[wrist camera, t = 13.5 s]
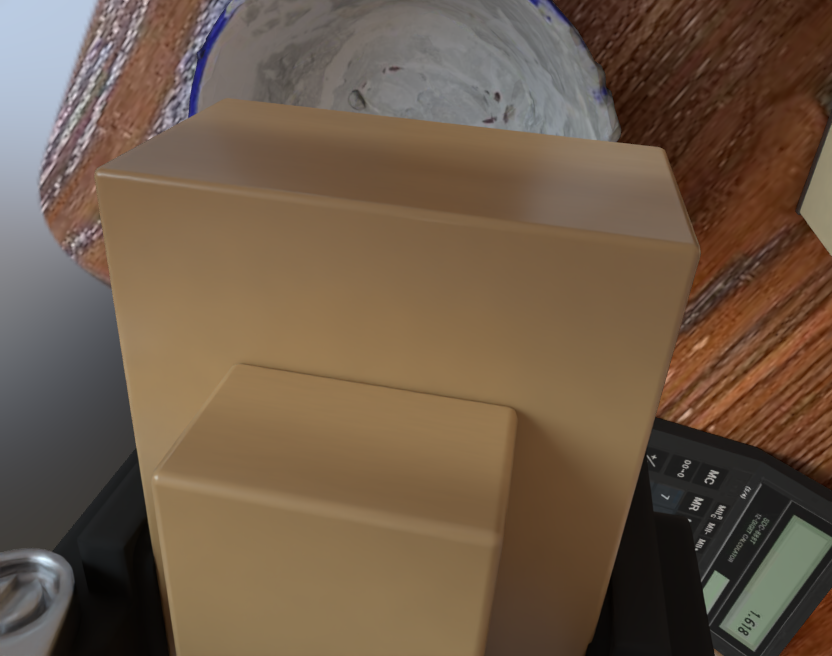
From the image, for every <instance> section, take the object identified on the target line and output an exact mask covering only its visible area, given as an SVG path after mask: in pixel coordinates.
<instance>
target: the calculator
mask: <svg viewBox="0 0 832 656" xmlns="http://www.w3.org/2000/svg"><path fill="white" fill-rule="evenodd" d="M646 455H647V463H648V471H649V479H650V487H651V495H652V503H653V511H655V512H661V513H667V514H672V515H678V516H684V517H686V518H687V519H688V520H689V522H690V525H691V529H692V534H693V539H694V545H695V550H696V556H697V561H698V567H699V572H700V578H701V583H702V588H703V594H704V599H705V605H706V610H707V616H708V621H709V627H710V632H711V638H712V643H713V648H714V649H716V650H717V651H718V652H720V653H721V654H722V655H724V656H779V654H780V653H781V652H782V651H783V649H784V648H785V647H786V646H787V644H788V643H789V642H790V640H791V639H792V638H793V637H794V635H795V634H796V633H797V631H798V630H799V629H800V628H801V626H802V625H803V624H804V623H805V621H806V620H807V619H808V617H809V616H810V615H811V614H812V612H813V611H814V610H815V608H816V607H817V606H818V605H819V603H820V602H821V601H822V600H823V598H824V597H825V596H826V594H827V593H828V592H829V591H830V589H831V588H832V490H830V489H828V488H827V487H825V486H823V485H821V484H820V483H818V482H816V481H814V480H813V479H811V478H809V477H807V476H806V475H804V474H802V473H800V472H799V471H797V470H795V469H793V468H792V467H790V466H788V465H786V464H785V463H783V462H781V461H779V460H778V459H776V458H774V457H772V456H771V455H769V454H767V453H765V452H764V451H762V450H760V449H758V448H756V447H753V446H749V445H746V444H743V443H739V442H736V441H733V440H729V439H726V438H723V437H719V436H716V435H713V434H709V433H706V432H703V431H699V430H696V429H693V428H689V427H686V426H682V425H679V424H676V423H672V422H669V421H666V420H662V419H659V418H656V417H655V420H654V423H653V427H652V431H651V434H650V438H649V441H648V445H647V448H646Z"/></svg>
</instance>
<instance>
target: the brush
mask: <svg viewBox="0 0 832 656" xmlns="http://www.w3.org/2000/svg"><path fill="white" fill-rule="evenodd" d="M94 178H95V185H96V191H97V198H98V204H99V210H100V217H101V223H102V230H103V236H104V242H105V249H106V255H107V262H108V268H109V274H110V281H111V287H112V294H113V300H114V306H115V313H116V319H117V325H118V332H119V338H120V345H121V350H122V357H123V364H124V370H125V376H126V382H127V389H128V395H129V402H130V409H131V415H132V421H133V428H134V434H135V440H136V447H137V453H138V460H139V466H140V473H141V479H142V485H143V492H144V498H145V504H146V511H147V517H148V524H149V530H150V536H151V543H152V549H153V555H154V561H155V567H156V574H157V580H158V586H159V593H160V599H161V606H162V612H163V618H164V625H165V631H166V638H167V644H168V651H169V656H585V654H586V650H587V646H588V644H589V643H591V642H592V639H593V637H594V634H595V631H596V627H597V624H598V620H599V616H600V613H601V609H602V606H603V602H604V599H605V595H606V591H607V588H608V584H609V581H610V577H611V574H612V570H613V566H614V563H615V559H616V556H617V552H618V549H619V545H620V541H621V538H622V534H623V531H624V527H625V524H626V520H627V516H628V513H629V509H630V506H631V502H632V499H633V495H634V491H635V488H636V484H637V481H638V477H639V473H640V470H641V466H642V463H643V459H644V456H645V452H646V448H647V445H648V441H649V438H650V434H651V431H652V427H653V423H654V420H655V416H656V413H657V409H658V406H659V402H660V398H661V395H662V391H663V388H664V384H665V381H666V377H667V373H668V370H669V366H670V363H671V359H672V356H673V352H674V348H675V345H676V341H677V338H678V334H679V331H680V327H681V323H682V320H683V316H684V313H685V309H686V306H687V302H688V298H689V295H690V291H691V288H692V284H693V280H694V277H695V273H696V270H697V266H698V263H699V259H700V255H701V251H700V246H699V243H698V240H697V238H696V235H695V232H694V229H693V226H692V224H691V221H690V218H689V215H688V213H687V210H686V207H685V204H684V201H683V199H682V196H681V193H680V190H679V188H678V185H677V182H676V179H675V176H674V174H673V171H672V168H671V165H670V163H669V160H668V157H667V154H666V151H665V150H664V149H662V148H660V147H652V146H644V145H635V144H626V143H617V142H609V141H600V140H591V139H582V138H574V137H565V136H556V135H547V134H538V133H530V132H521V131H512V130H503V129H495V128H486V127H477V126H468V125H460V124H451V123H442V122H433V121H425V120H416V119H407V118H398V117H389V116H381V115H372V114H363V113H354V112H346V111H337V110H328V109H319V108H311V107H302V106H293V105H284V104H276V103H267V102H258V101H249V100H240V99H232V98H225V99H222V100H221V101H219V102H217V103H215V104H213V105H211V106H210V107H208V108H206V109H204V110H202V111H200V112H199V113H197V114H195V115H193V116H191V117H190V118H188V119H186V120H184V121H182V122H180V123H179V124H177V125H175V126H173V127H171V128H169V129H168V130H166V131H164V132H162V133H160V134H159V135H157V136H155V137H153V138H151V139H149V140H148V141H146V142H144V143H142V144H140V145H138V146H137V147H135V148H133V149H131V150H129V151H128V152H126V153H124V154H122V155H120V156H118V157H117V158H115V159H113V160H111V161H109V162H107V163H106V164H104V165H102V166H100V167H98V168H97V169H96V171H95V175H94Z"/></svg>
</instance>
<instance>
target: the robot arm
mask: <svg viewBox="0 0 832 656" xmlns="http://www.w3.org/2000/svg"><path fill="white" fill-rule="evenodd" d="M0 656H169V651H168V644H167V638H166V631H165V625H164V618H163V612H162V606H161V599H160V593H159V586H158V580H157V574H156V567H155V561H154V555H153V549H152V543H151V536H150V530H149V524H148V517H147V511H146V504H145V498H144V492H143V485H142V479H141V473H140V466H139V460H138V453H137V447H136V449H135V450H134V451H133V452H132V454H131V455H130V456H129V457H128V459H127V460H126V461H125V462H124V463H123V465H122V466H121V467H120V468H119V470H118V471H117V472H116V473H115V475H114V476H113V477H112V478H111V480H110V481H109V482H108V483H107V485H106V486H105V487H104V488H103V490H102V491H101V492H100V493H99V494H98V496H97V497H96V498H95V499H94V500H93V502H92V503H91V504H90V505H89V507H88V508H87V509H86V510H85V512H84V513H83V514H82V515H81V517H80V518H79V519H78V520H77V522H76V523H75V524H74V525H73V526H72V528H71V529H70V530H69V532H68V533H67V534H66V535H65V536H64V538H63V539H62V540H61V541H60V543H59V544H58V545H57V546H56V547H55V549H54V550H53V551H49V550H44V549H36V548H26V549H15V550H9V551H6V552H3V553H0ZM585 656H715V654H714V649H713V643H712V638H711V632H710V627H709V621H708V616H707V610H706V605H705V599H704V594H703V588H702V583H701V578H700V572H699V567H698V561H697V556H696V550H695V545H694V539H693V534H692V529H691V525H690V522H689V520H688V519H687V518H686V517H684V516H678V515H672V514H667V513H661V512H655V511H653V503H652V495H651V487H650V479H649V471H648V463H647V455H646V452H645V456H644V459H643V463H642V466H641V470H640V473H639V477H638V481H637V484H636V488H635V491H634V495H633V499H632V502H631V506H630V509H629V513H628V516H627V520H626V524H625V527H624V531H623V534H622V538H621V541H620V545H619V549H618V552H617V556H616V559H615V563H614V566H613V570H612V574H611V577H610V581H609V584H608V588H607V591H606V595H605V599H604V602H603V606H602V609H601V613H600V616H599V620H598V624H597V627H596V631H595V634H594V637H593V639H592V642H591V643H589V644H588V646H587V650H586V654H585Z"/></svg>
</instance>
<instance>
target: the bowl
mask: <svg viewBox="0 0 832 656" xmlns="http://www.w3.org/2000/svg"><path fill="white" fill-rule="evenodd" d="M197 59H198V60H197V66H196V71H195V75H194V80H193V84H192V88H191V95H190V103H189V115H188V118H190V117H191V116H193V115H195V114H197V113H199V112H200V111H202V110H204V109H206V108H208V107H210V106H211V105H213V104H215V103H217V102H219V101H221V100H222V99H225V98H232V99H240V100H249V101H258V102H267V103H276V104H284V105H293V106H302V107H311V108H319V109H328V110H337V111H346V112H354V113H363V114H372V115H381V116H389V117H398V118H407V119H416V120H425V121H433V122H442V123H451V124H460V125H468V126H477V127H486V128H495V129H503V130H512V131H521V132H530V133H538V134H547V135H556V136H565V137H574V138H582V139H591V140H600V141H609V142H617V141H618V139H619V138H620V136H621V127H620V124H619V121H618V118H617V115H616V112H615V107H614V102H613V97H612V93H611V91H610V90H609V89H608V88H607V87H606V77H605V72H604V70H603V68H602V66H601V65H600V64H599V63H597V62H595V61H594V59H593V57H592V55H591V52H590V51H589V49H588V48H587V46H586V44H585V43H584V41H583V39H582V37H581V36H580V34H579V32H578V30H577V29H576V28H575V27H574V26H573V24H572V23H571V22H570V21H569V20H568V19H567V17H566V16H565V15H564V14H563V13H562V12H561V11H560V9H559V8H558V7H557V6H556V5H555V4H554V2H553V1H552V0H230V2H229V4H228V5H227V6H226V8H225V9H224V11H223V12H222V14H221V15H220V17H219V18H218V20H217V21H216V23H215V24H214V26H213V28H212V29H211V31H210V33H209V35H208V36H207V38H206V42H205V43H204V45H203V47H202V48H201V49H200V50H199V51H198V52H197Z"/></svg>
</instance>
